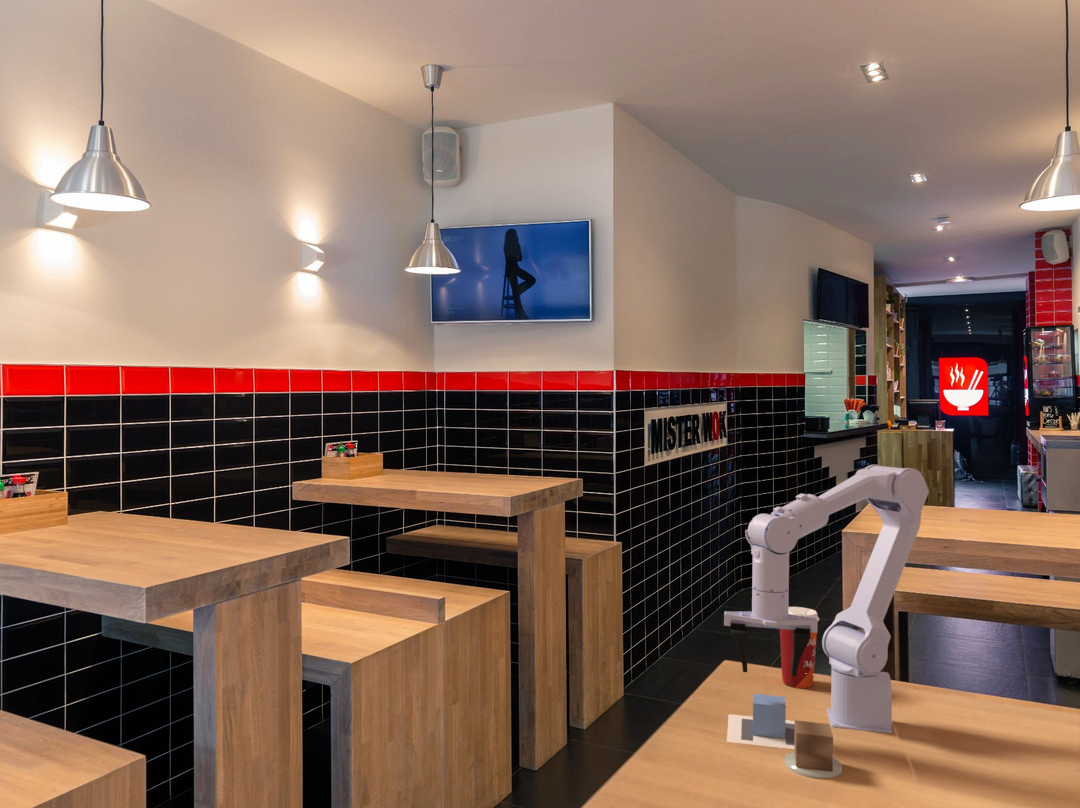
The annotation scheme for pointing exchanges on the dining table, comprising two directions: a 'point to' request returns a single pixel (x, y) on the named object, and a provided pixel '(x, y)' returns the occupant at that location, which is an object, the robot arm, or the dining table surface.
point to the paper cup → (807, 656)
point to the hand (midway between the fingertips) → (769, 672)
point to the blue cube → (769, 715)
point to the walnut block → (813, 746)
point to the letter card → (743, 733)
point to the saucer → (813, 773)
